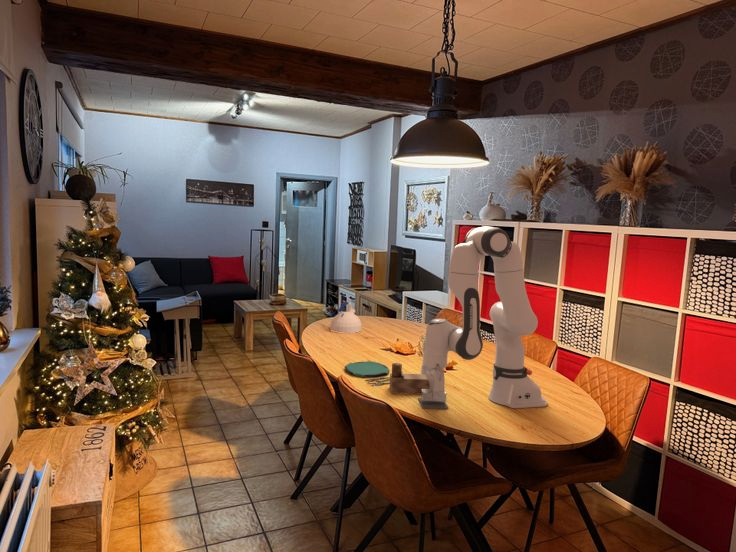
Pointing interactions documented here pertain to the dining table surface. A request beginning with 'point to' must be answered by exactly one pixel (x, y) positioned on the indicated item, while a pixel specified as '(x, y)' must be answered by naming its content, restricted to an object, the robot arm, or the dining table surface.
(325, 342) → the dining table surface
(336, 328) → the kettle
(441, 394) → the lever cap
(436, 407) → the rubber mat
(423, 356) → the plastic bottle
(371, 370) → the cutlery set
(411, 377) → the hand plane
